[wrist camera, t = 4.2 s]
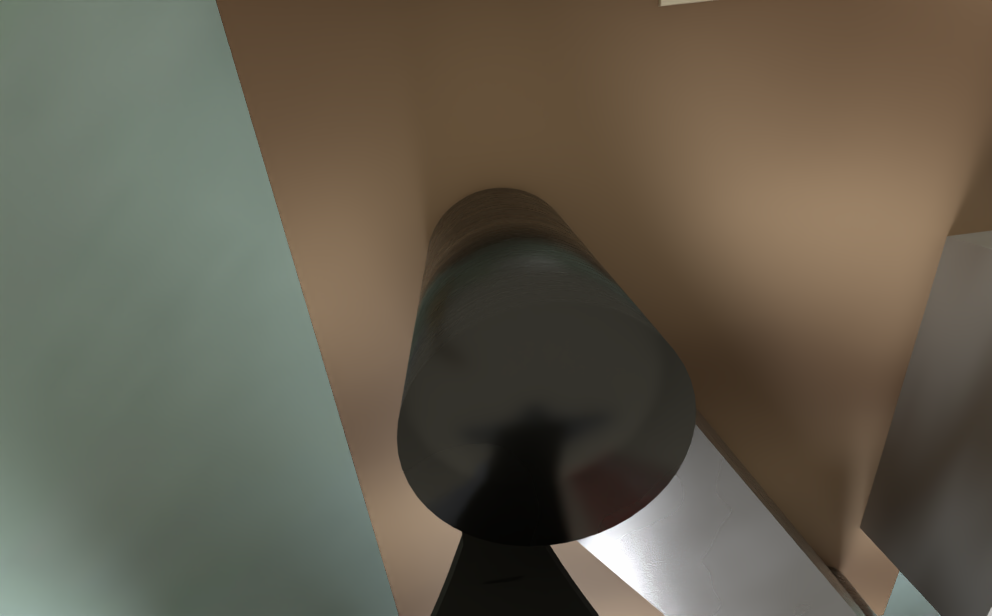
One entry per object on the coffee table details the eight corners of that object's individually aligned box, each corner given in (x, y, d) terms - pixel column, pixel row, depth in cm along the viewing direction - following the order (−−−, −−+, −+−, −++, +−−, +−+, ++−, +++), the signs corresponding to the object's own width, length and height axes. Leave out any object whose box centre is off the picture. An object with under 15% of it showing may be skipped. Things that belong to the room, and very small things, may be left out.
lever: (863, 592, 13) (1087, 867, 9) (780, 636, 14) (948, 916, 9) (510, 153, 8) (596, 249, 3) (396, 255, 8) (317, 472, 4)
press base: (846, 569, 16) (983, 737, 12) (422, 631, 15) (410, 827, 11) (1055, -135, 8) (1649, -360, 4) (238, -49, 8) (0, -203, 4)
